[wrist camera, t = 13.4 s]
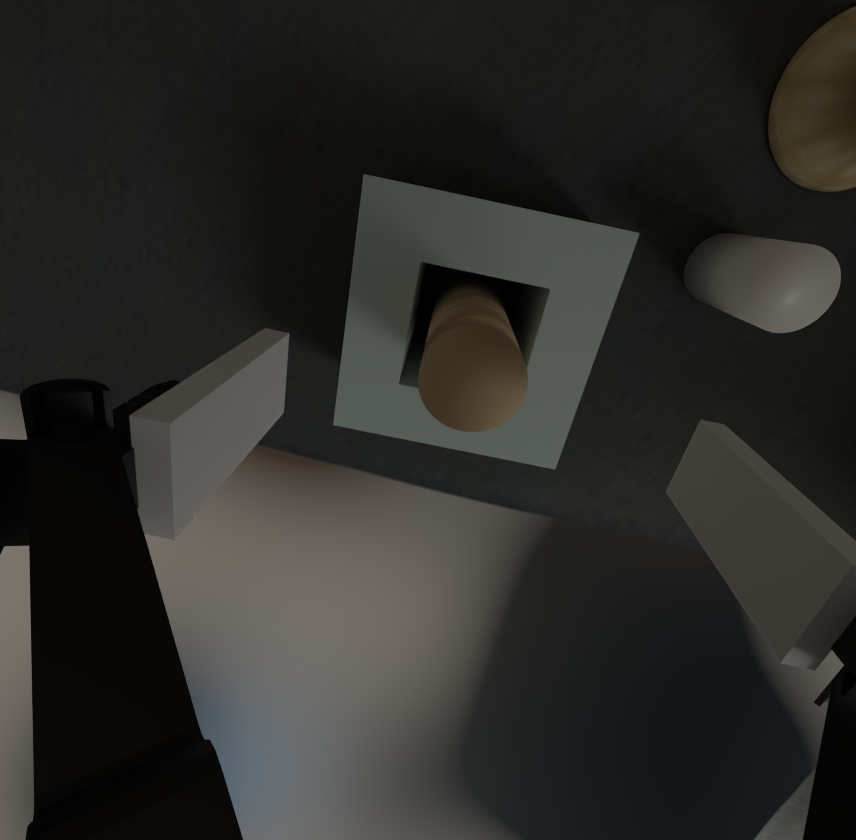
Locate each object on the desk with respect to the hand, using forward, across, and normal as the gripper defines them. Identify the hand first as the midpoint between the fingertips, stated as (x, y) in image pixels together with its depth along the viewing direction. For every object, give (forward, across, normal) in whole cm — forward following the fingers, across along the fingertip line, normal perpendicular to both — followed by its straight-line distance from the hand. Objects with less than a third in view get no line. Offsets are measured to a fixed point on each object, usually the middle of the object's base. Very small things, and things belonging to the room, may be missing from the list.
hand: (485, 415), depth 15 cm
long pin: (+16, +1, 0) cm, 17 cm away
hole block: (+16, +1, 0) cm, 17 cm away
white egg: (+17, -13, -5) cm, 22 cm away
